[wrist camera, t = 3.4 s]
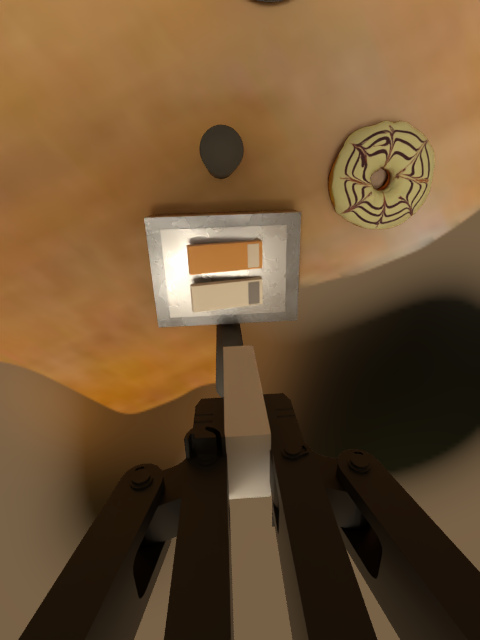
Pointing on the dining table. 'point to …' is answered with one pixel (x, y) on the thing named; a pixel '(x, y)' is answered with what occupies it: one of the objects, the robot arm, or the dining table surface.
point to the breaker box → (276, 272)
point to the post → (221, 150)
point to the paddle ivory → (226, 294)
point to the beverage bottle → (269, 0)
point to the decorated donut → (401, 166)
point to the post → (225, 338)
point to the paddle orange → (224, 256)
